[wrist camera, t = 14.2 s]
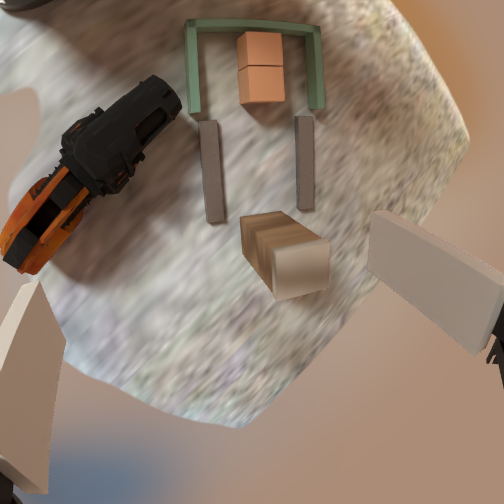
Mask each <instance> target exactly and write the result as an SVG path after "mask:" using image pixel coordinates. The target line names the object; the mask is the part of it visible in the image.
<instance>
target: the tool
mask: <svg viewBox="0 0 504 504" xmlns="http://www.w3.org/2000/svg"><path fill="white" fill-rule="evenodd" d="M181 109H182V104H181V101H180V99H179V97H178V96H177V94H176V93H175V92H174V90H173V89H172V88H171V87H170V86H169V85H168V84H167V83H166V82H165V81H164V80H162V79H160V78H159V77H157V76H155V75H152V76H150V77H149V78H148V79H146V80H145V81H144V82H140V84H139V85H138V86H137V87H135V88H134V89H133V90H131V91H130V92H129V93H127V94H126V95H124V96H123V97H121V98H120V99H119V100H118V101H116V102H115V103H114V104H113V105H112V106H111V107H109V108H108V109H107V110H106V111H105V112H104V111H103V109H101V108H100V107H98V108H96V109H95V110H94V111H95V114H94V113H91V114H90V115H89V116H88V117H85V118H82V119H80V120H78V121H76V122H75V123H74V124H73V125H72V126H71V127H70V128H69V129H68V130H67V131H66V132H65V133H64V134H63V135H62V141H61V145H62V147H63V148H62V149H60V150H59V151H60V153H61V155H62V156H63V157H62V156H61V157H62V158H61V159H60V160H59V162H60V164H61V165H60V164H59V166H58V167H55V169H56V170H54V172H53V173H52V175H51V174H49V177H45V178H42V179H40V180H39V181H38V182H37V183H36V184H34V185H33V186H32V187H31V188H30V189H29V191H28V192H27V193H26V194H25V196H24V197H23V198H22V200H21V201H20V202H19V204H18V205H17V207H16V208H15V210H14V211H13V213H12V215H11V216H10V218H9V220H8V221H7V223H6V225H5V227H4V229H3V231H2V232H1V234H0V248H1V255H3V257H4V258H3V261H5V262H7V263H8V264H10V265H11V266H13V267H14V268H16V269H17V271H18V272H19V273H21V274H23V273H25V272H26V273H28V274H31V275H35V274H37V273H38V272H39V271H40V270H41V268H42V267H43V266H44V265H45V264H46V263H47V262H48V260H49V259H50V258H51V257H52V256H53V254H54V253H55V252H56V251H57V250H58V249H59V247H60V246H61V245H62V244H63V243H64V241H65V240H66V239H67V238H68V237H69V235H70V234H71V233H72V232H73V230H74V229H75V228H76V226H77V225H78V224H79V222H80V221H81V219H82V214H83V209H84V207H85V206H87V204H89V202H90V201H91V198H95V197H96V196H97V195H99V194H100V195H101V196H103V197H104V196H105V195H106V193H107V194H118V193H119V192H120V191H121V190H122V188H123V187H124V186H125V185H126V184H127V182H128V181H129V178H128V177H132V176H134V172H135V168H136V167H135V166H136V165H137V164H138V163H139V161H143V160H144V159H145V155H144V154H143V153H142V151H143V150H144V148H145V147H146V146H147V145H148V144H149V143H150V142H151V141H152V140H153V139H154V138H155V137H156V136H157V135H158V134H159V133H160V132H161V131H162V130H163V129H164V128H165V127H166V126H167V125H168V124H169V123H170V122H172V121H173V120H175V117H176V116H177V114H178V113H179V112H180V110H181ZM89 205H90V204H89Z"/></svg>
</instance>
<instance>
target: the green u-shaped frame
mask: <svg viewBox="0 0 504 504" xmlns="http://www.w3.org/2000/svg"><path fill="white" fill-rule="evenodd" d="M246 31H247V32H270V33H281V34H285V35H295V36H305V50H306V66H307V85H308V107H309V109H325V95H324V75H323V58H322V44H321V31H320V26H314V25H307V24H299V23H290V22H280V21H268V20H252V19H188V20H186V23H185V25H184V36H185V60H186V80H187V97H188V112H189V114H192V113H199V112H201V109H200V93H199V75H198V55H197V33H200V32H246Z"/></svg>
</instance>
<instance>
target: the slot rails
mask: <svg viewBox="0 0 504 504" xmlns="http://www.w3.org/2000/svg"><path fill="white" fill-rule="evenodd" d="M198 129H199V143H200V155H201V167H202V179H203V190H204V200H205V210H206V220H207V222H208V223H212V222H218V221H224V209H223V197H222V184H221V171H220V157H219V143H218V128H217V120H207V121H198ZM295 141H296V184H297V208H298V209H300V210H301V209H309V208H314V153H313V116H295Z"/></svg>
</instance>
